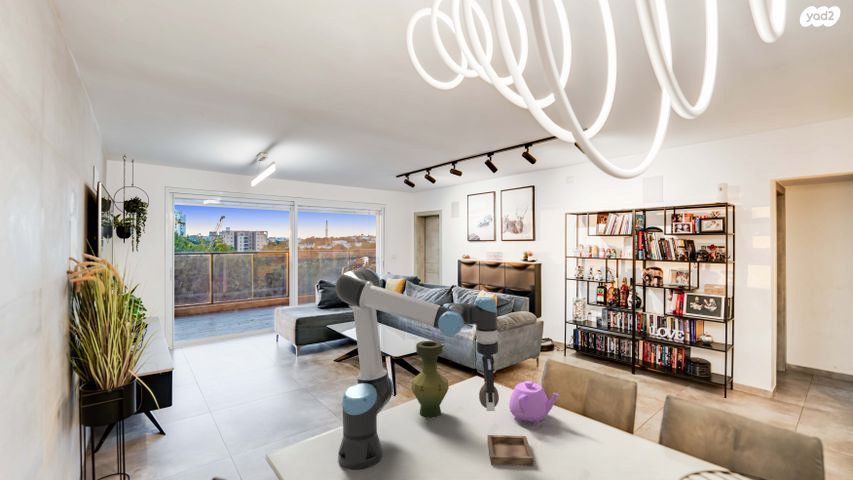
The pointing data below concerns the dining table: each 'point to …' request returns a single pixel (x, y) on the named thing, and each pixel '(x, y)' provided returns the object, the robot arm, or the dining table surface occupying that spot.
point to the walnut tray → (509, 450)
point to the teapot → (530, 402)
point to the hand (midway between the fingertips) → (489, 405)
